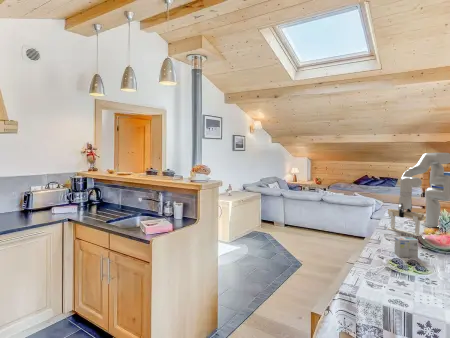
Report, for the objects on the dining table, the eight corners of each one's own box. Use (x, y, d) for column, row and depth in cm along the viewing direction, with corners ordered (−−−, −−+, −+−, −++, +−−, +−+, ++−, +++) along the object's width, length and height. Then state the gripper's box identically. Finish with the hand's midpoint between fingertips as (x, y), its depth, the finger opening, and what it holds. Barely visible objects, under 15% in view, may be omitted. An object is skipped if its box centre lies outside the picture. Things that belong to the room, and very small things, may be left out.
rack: (392, 228, 234) (392, 210, 233) (423, 235, 214) (424, 216, 213) (386, 229, 230) (387, 211, 229) (418, 237, 210) (418, 217, 209)
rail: (390, 213, 233) (391, 208, 232) (423, 219, 212) (423, 214, 212) (388, 214, 231) (388, 209, 230) (420, 220, 210) (420, 215, 210)
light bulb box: (412, 253, 178) (412, 236, 177) (418, 257, 171) (418, 240, 170) (393, 253, 179) (394, 236, 178) (399, 257, 172) (399, 239, 172)
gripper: (407, 192, 228) (406, 214, 229) (394, 194, 219) (393, 216, 220) (417, 193, 221) (416, 216, 222) (404, 195, 213) (403, 218, 214)
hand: (405, 216), depth 221 cm, fingers open, 9 cm apart
